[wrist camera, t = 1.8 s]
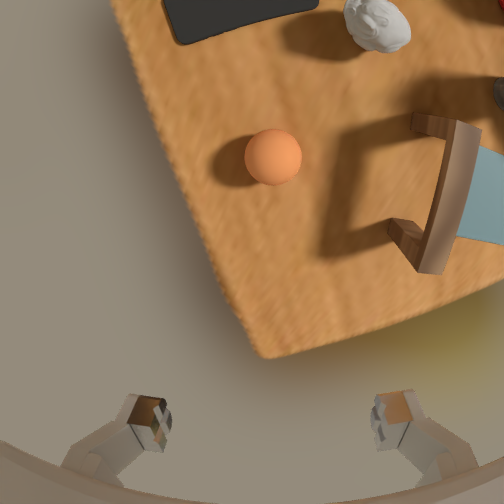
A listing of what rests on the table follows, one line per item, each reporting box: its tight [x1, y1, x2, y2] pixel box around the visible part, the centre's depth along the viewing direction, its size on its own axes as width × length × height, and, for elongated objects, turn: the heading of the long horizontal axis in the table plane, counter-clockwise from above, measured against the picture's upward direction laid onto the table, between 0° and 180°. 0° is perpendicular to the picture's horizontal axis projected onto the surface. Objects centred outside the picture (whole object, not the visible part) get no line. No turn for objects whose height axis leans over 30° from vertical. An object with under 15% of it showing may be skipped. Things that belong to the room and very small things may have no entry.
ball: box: [244, 129, 302, 185], centre depth 29 cm, size 5×5×5 cm
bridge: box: [388, 113, 482, 275], centre depth 27 cm, size 3×14×9 cm, turn 174°
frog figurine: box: [343, 0, 411, 53], centre depth 21 cm, size 6×7×7 cm
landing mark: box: [456, 146, 504, 245], centre depth 31 cm, size 12×12×1 cm
